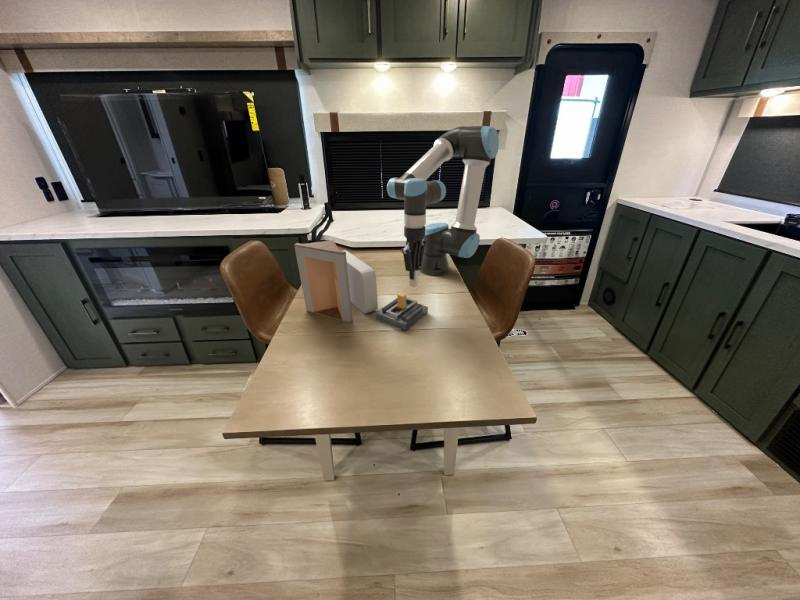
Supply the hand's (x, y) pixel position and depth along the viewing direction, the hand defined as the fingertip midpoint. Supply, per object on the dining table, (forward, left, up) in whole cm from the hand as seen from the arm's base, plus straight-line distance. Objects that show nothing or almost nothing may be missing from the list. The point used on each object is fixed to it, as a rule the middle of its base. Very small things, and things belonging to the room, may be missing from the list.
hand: (413, 285), depth 121 cm
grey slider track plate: (+8, +1, -7) cm, 10 cm away
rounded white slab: (+8, -24, -10) cm, 27 cm away
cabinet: (+20, -24, -10) cm, 33 cm away
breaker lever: (+8, 0, -7) cm, 10 cm away
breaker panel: (+8, 0, -10) cm, 13 cm away
